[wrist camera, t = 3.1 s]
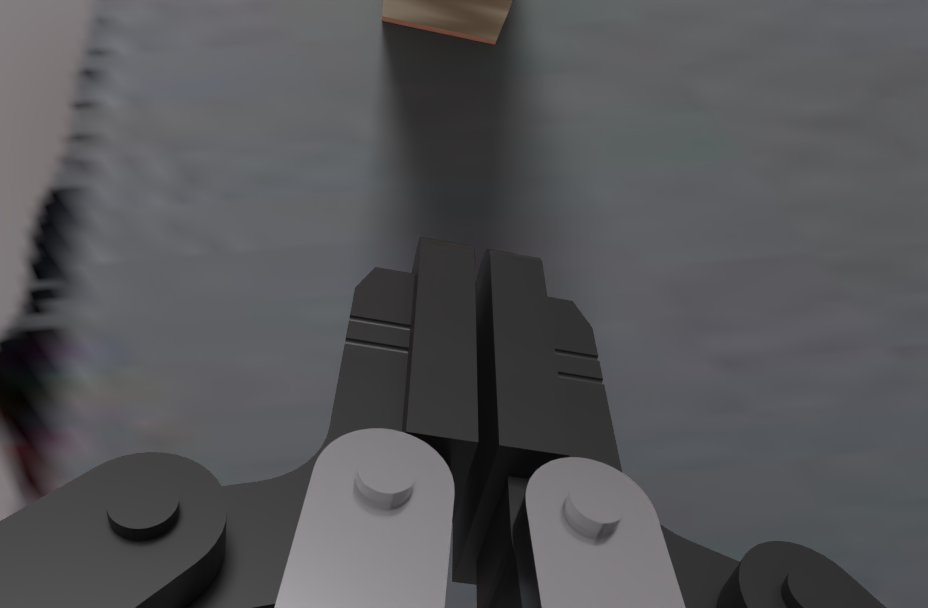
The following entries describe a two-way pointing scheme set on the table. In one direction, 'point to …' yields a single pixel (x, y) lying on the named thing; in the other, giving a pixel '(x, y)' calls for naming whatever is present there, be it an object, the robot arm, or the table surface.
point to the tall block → (451, 16)
